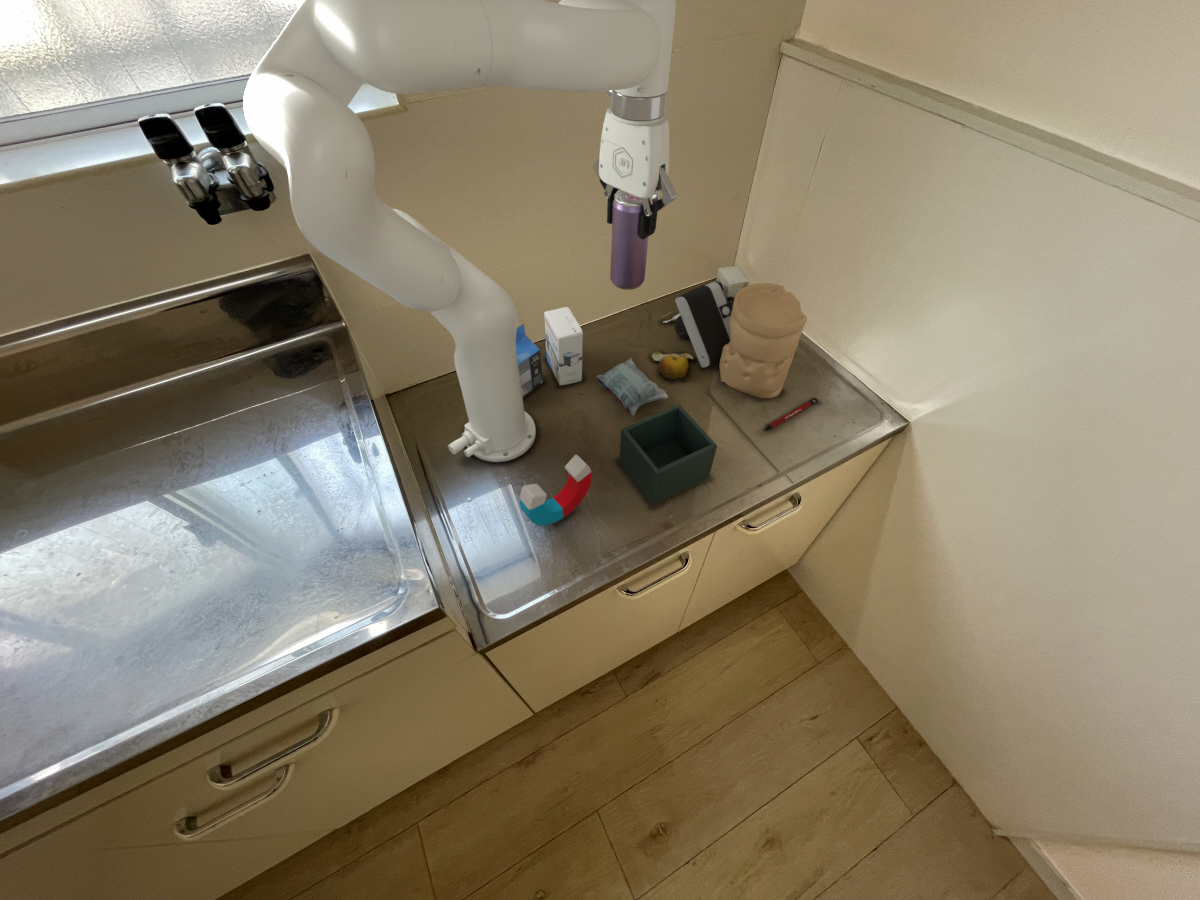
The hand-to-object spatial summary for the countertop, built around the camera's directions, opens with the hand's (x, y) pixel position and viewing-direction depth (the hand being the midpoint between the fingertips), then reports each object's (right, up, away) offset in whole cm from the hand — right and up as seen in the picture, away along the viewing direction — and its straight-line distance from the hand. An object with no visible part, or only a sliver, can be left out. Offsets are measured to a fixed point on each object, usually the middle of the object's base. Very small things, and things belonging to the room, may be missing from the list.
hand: (630, 227), depth 91 cm
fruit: (+10, -19, +23) cm, 31 cm away
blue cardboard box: (-20, -24, +18) cm, 36 cm away
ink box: (-12, -20, +22) cm, 32 cm away
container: (+24, -23, +20) cm, 38 cm away
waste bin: (+6, -39, +6) cm, 40 cm away
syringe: (+11, -6, +33) cm, 35 cm away
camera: (+12, -13, +22) cm, 28 cm away
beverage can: (0, -7, +8) cm, 10 cm away
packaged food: (+1, -25, +17) cm, 31 cm away
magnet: (-12, -46, 0) cm, 47 cm away
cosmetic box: (+22, -9, +31) cm, 38 cm away
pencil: (+30, -30, +14) cm, 44 cm away
